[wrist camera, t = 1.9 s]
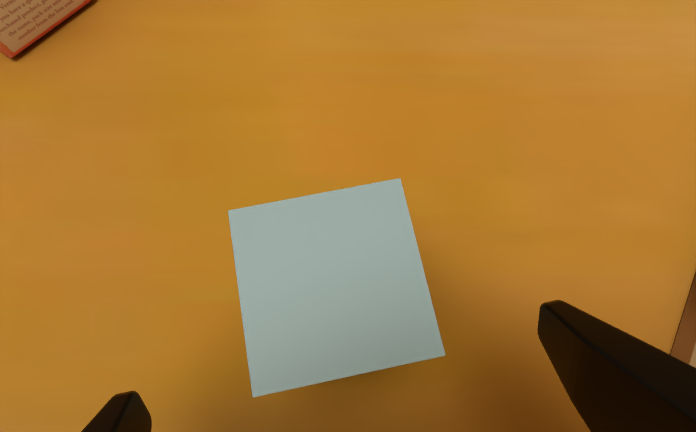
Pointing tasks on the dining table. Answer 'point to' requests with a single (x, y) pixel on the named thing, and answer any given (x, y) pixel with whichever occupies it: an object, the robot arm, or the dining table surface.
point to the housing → (687, 331)
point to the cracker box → (31, 21)
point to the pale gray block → (331, 287)
